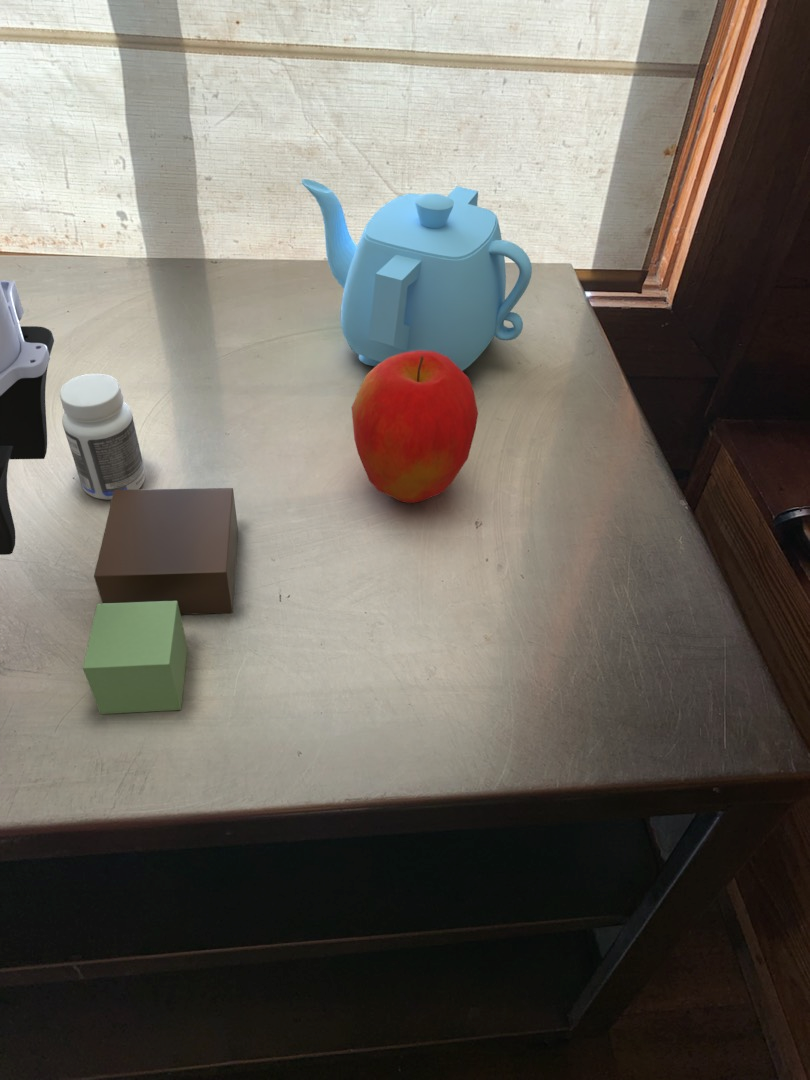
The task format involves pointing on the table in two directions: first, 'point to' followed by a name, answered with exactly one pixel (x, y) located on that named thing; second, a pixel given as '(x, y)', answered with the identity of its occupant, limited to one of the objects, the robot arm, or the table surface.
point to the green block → (136, 657)
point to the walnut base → (170, 549)
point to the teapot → (423, 276)
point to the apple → (414, 424)
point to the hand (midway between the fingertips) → (11, 500)
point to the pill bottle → (101, 435)
